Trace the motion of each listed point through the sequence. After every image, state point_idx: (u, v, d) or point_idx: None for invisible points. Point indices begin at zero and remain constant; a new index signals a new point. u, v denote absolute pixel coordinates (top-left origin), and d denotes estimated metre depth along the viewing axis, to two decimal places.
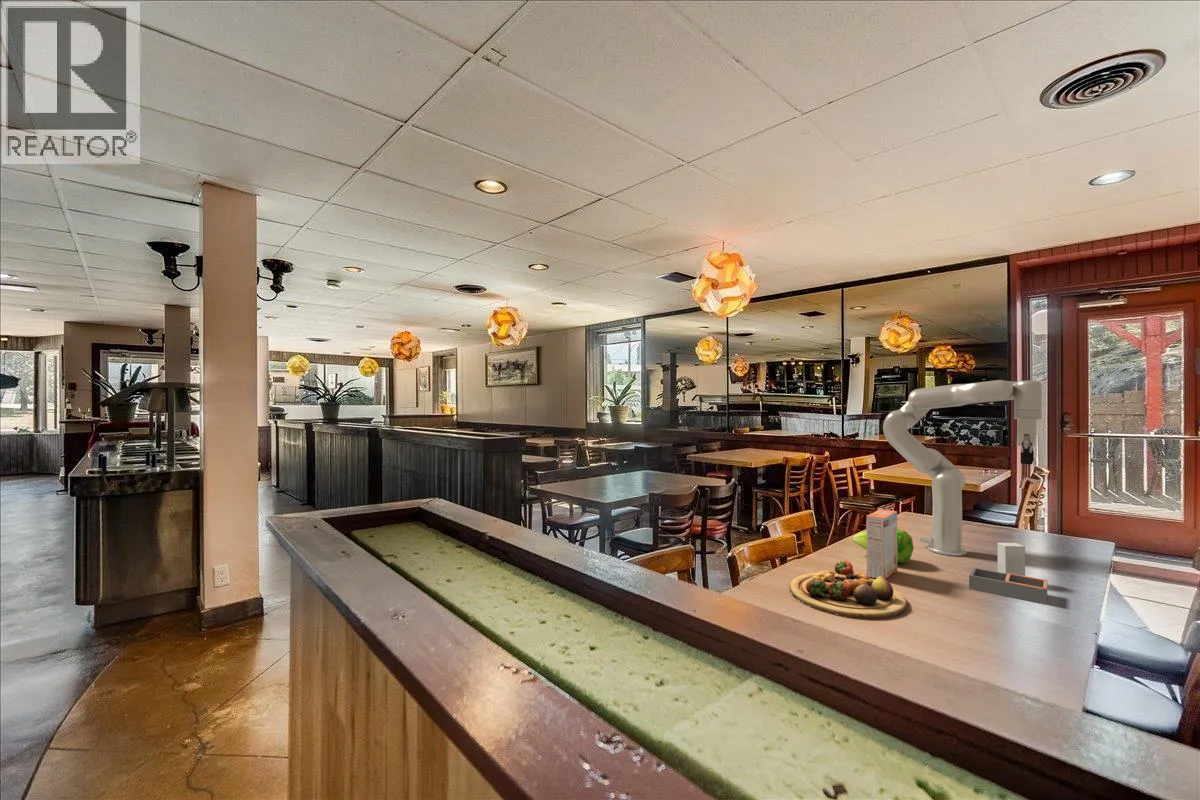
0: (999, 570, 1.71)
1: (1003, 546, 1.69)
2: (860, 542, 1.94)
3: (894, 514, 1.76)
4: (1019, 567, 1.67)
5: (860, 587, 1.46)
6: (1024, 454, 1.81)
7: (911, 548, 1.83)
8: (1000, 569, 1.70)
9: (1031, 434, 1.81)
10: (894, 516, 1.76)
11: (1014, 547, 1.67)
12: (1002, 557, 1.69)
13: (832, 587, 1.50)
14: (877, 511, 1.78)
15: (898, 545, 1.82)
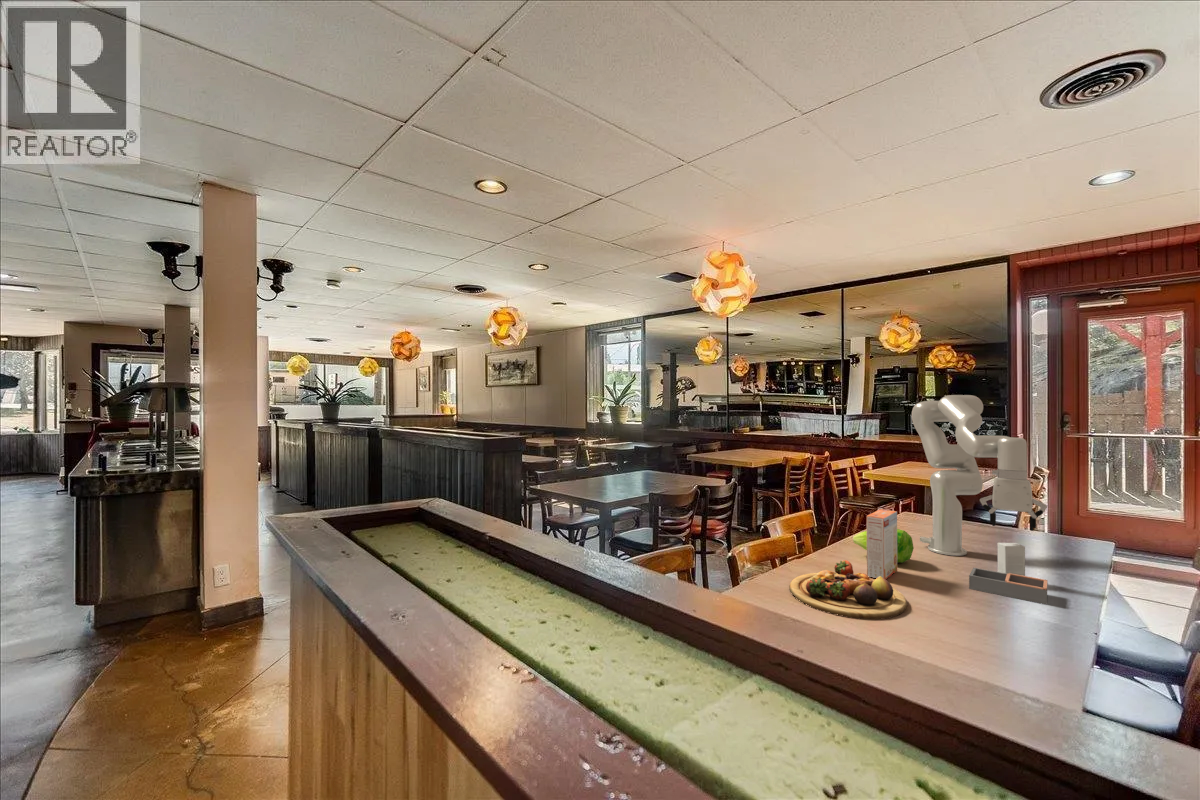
0: (999, 570, 1.71)
1: (1003, 546, 1.69)
2: (860, 542, 1.94)
3: (894, 514, 1.76)
4: (1019, 567, 1.67)
5: (860, 587, 1.46)
6: (1035, 520, 1.65)
7: (911, 548, 1.83)
8: (1000, 569, 1.70)
9: None
10: (894, 516, 1.76)
11: (1014, 547, 1.67)
12: (1002, 557, 1.69)
13: (832, 587, 1.50)
14: (877, 511, 1.78)
15: (898, 545, 1.83)
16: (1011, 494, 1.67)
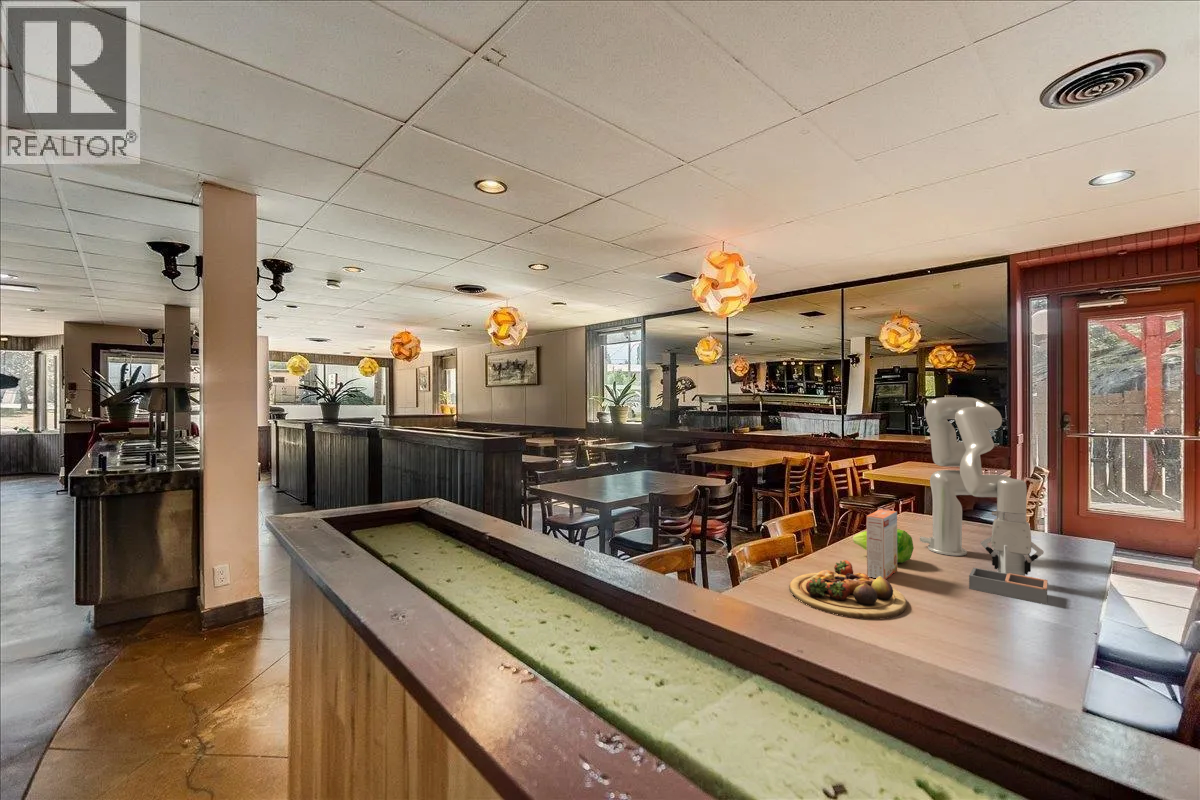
0: (999, 570, 1.71)
1: None
2: (860, 542, 1.94)
3: (894, 514, 1.76)
4: (1018, 567, 1.67)
5: (860, 587, 1.46)
6: None
7: (911, 548, 1.83)
8: (1000, 568, 1.70)
9: None
10: (894, 516, 1.76)
11: None
12: (1002, 557, 1.69)
13: (832, 587, 1.50)
14: (877, 511, 1.78)
15: (898, 545, 1.83)
16: (1010, 536, 1.67)
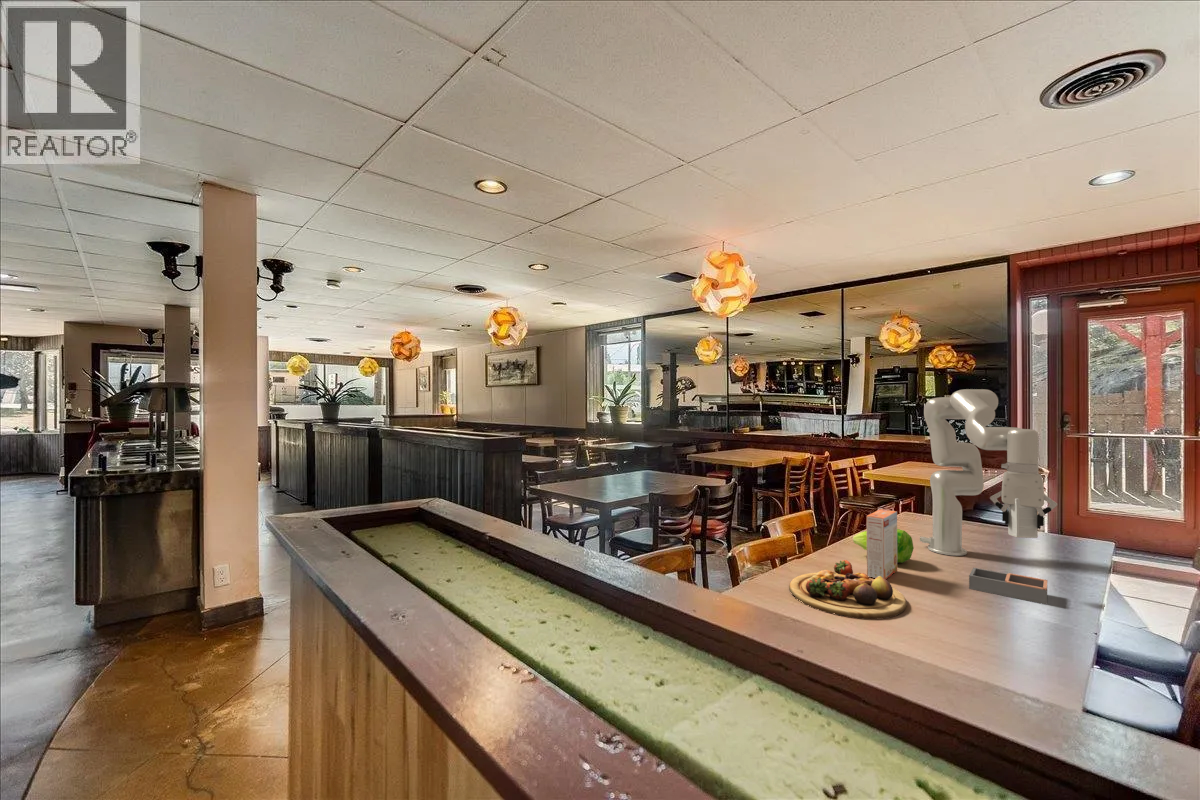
0: (1010, 526, 1.62)
1: None
2: (860, 542, 1.94)
3: (894, 514, 1.76)
4: (1031, 521, 1.58)
5: (860, 587, 1.46)
6: (1043, 517, 1.57)
7: (911, 548, 1.83)
8: (1011, 524, 1.61)
9: None
10: (894, 516, 1.76)
11: None
12: (1013, 511, 1.60)
13: (832, 587, 1.50)
14: (877, 511, 1.78)
15: (898, 545, 1.82)
16: (1022, 489, 1.58)
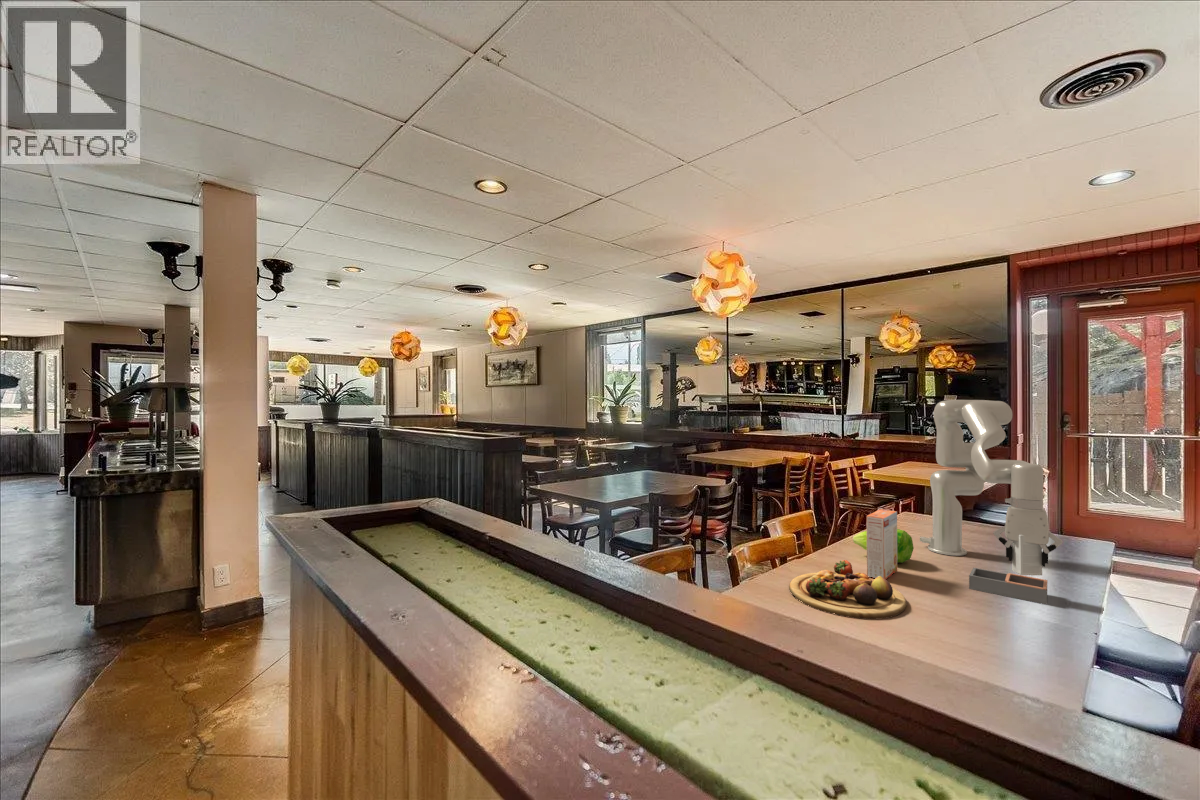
0: (1014, 562, 1.58)
1: None
2: (860, 542, 1.94)
3: (894, 514, 1.76)
4: (1035, 558, 1.55)
5: (860, 587, 1.47)
6: (1047, 555, 1.53)
7: (911, 548, 1.83)
8: (1015, 560, 1.57)
9: None
10: (894, 516, 1.76)
11: None
12: (1017, 547, 1.56)
13: (832, 587, 1.50)
14: (877, 511, 1.78)
15: (898, 545, 1.82)
16: (1026, 525, 1.55)
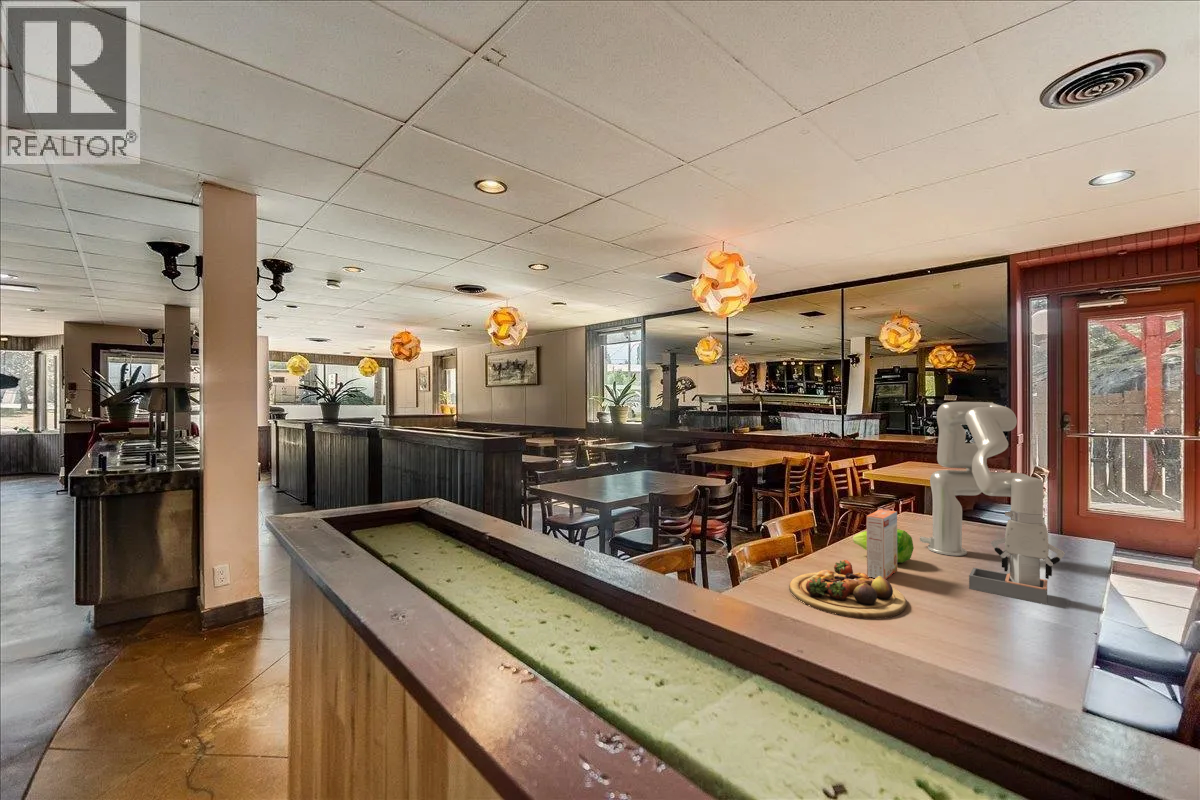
0: (1012, 581, 1.59)
1: (1016, 555, 1.56)
2: (860, 542, 1.94)
3: (894, 514, 1.76)
4: (1033, 578, 1.55)
5: (860, 586, 1.47)
6: (1051, 567, 1.53)
7: (911, 548, 1.83)
8: (1013, 579, 1.58)
9: None
10: (894, 516, 1.76)
11: None
12: (1015, 567, 1.57)
13: (832, 587, 1.50)
14: (877, 511, 1.78)
15: (898, 545, 1.82)
16: (1025, 539, 1.55)
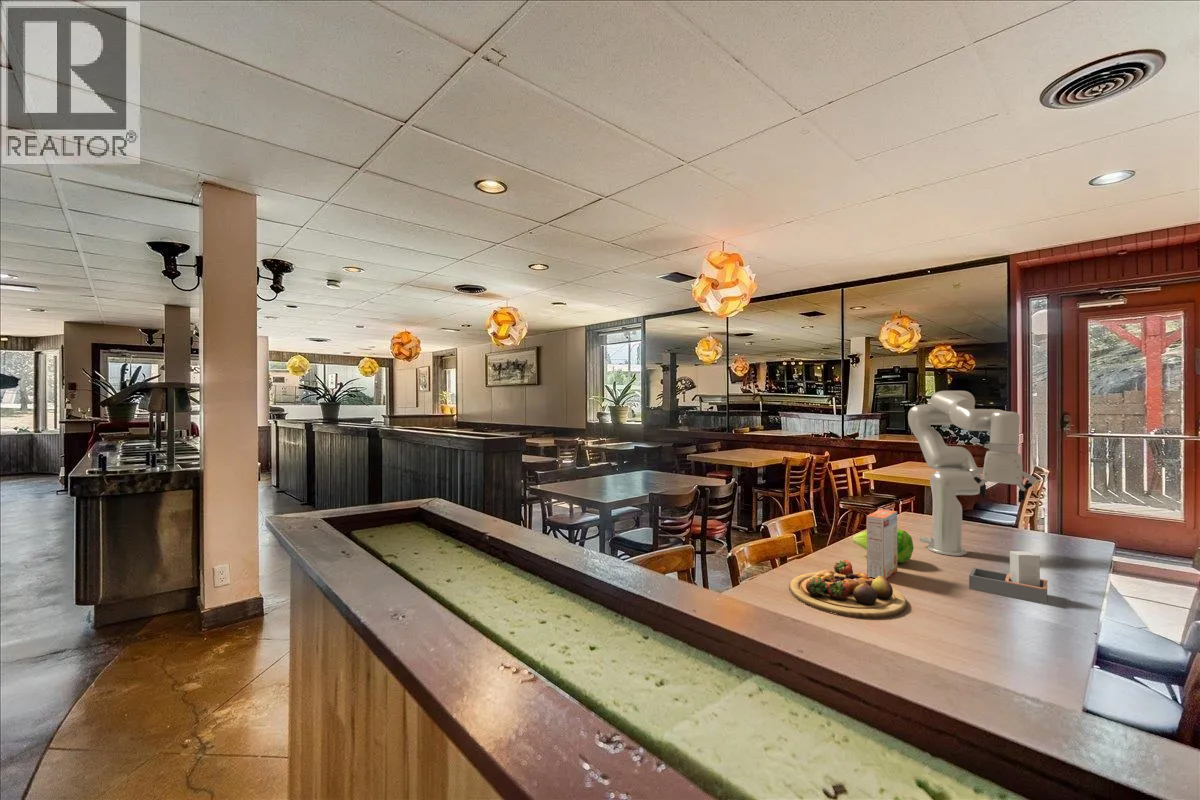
0: (1012, 581, 1.59)
1: (1016, 555, 1.56)
2: (860, 542, 1.94)
3: (894, 514, 1.76)
4: (1033, 578, 1.55)
5: (860, 586, 1.47)
6: (1024, 492, 1.68)
7: (911, 548, 1.83)
8: (1013, 579, 1.58)
9: None
10: (894, 516, 1.76)
11: (1028, 556, 1.55)
12: (1015, 567, 1.57)
13: (832, 587, 1.50)
14: (877, 511, 1.78)
15: (898, 545, 1.82)
16: (1001, 467, 1.70)
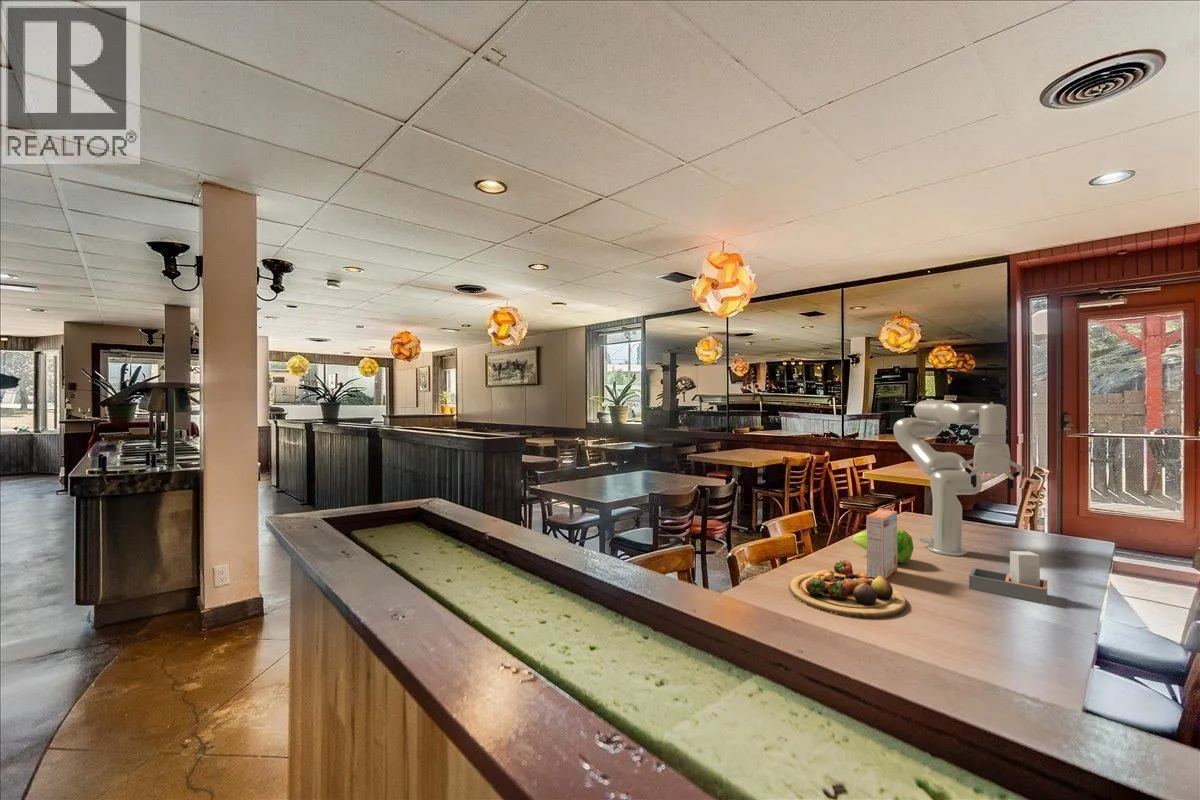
0: (1012, 581, 1.59)
1: (1016, 555, 1.56)
2: (860, 542, 1.94)
3: (894, 514, 1.76)
4: (1033, 578, 1.55)
5: (860, 586, 1.47)
6: (1012, 481, 1.76)
7: (911, 548, 1.83)
8: (1013, 579, 1.58)
9: None
10: (894, 516, 1.76)
11: (1028, 556, 1.55)
12: (1015, 567, 1.57)
13: (832, 586, 1.50)
14: (877, 511, 1.78)
15: (898, 545, 1.83)
16: (990, 457, 1.78)
